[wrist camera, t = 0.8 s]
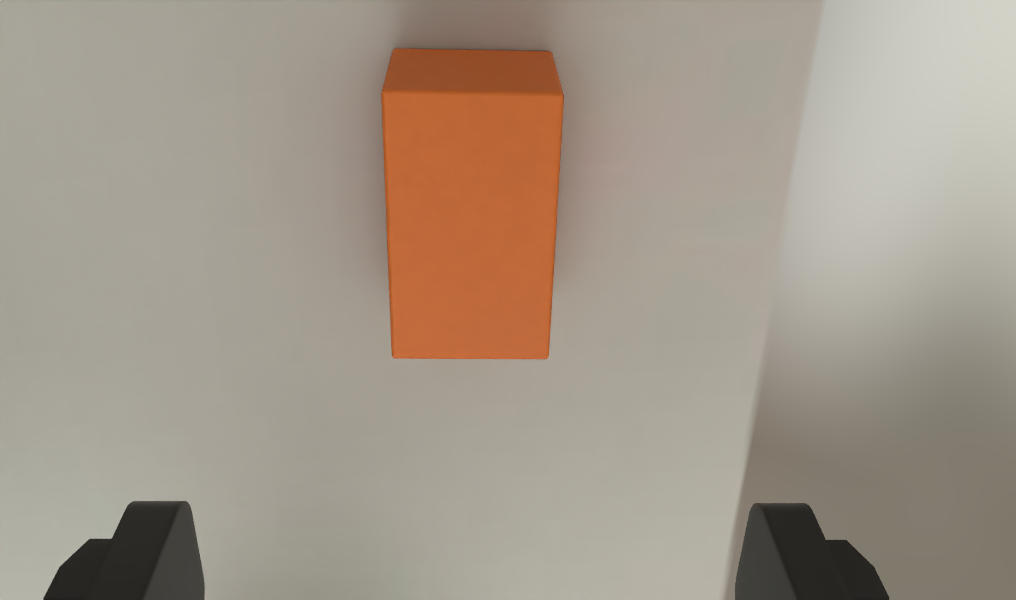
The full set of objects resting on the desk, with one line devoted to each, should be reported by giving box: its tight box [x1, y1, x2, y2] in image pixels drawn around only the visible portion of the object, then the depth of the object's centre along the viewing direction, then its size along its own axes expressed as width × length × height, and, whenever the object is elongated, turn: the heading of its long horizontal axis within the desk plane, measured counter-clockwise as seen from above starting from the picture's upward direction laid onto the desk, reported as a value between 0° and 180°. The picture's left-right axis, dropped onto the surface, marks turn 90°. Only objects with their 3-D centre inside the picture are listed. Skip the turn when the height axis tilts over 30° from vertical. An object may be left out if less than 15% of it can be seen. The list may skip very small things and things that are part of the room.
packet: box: [381, 49, 564, 359], centre depth 24 cm, size 7×4×4 cm, turn 178°
